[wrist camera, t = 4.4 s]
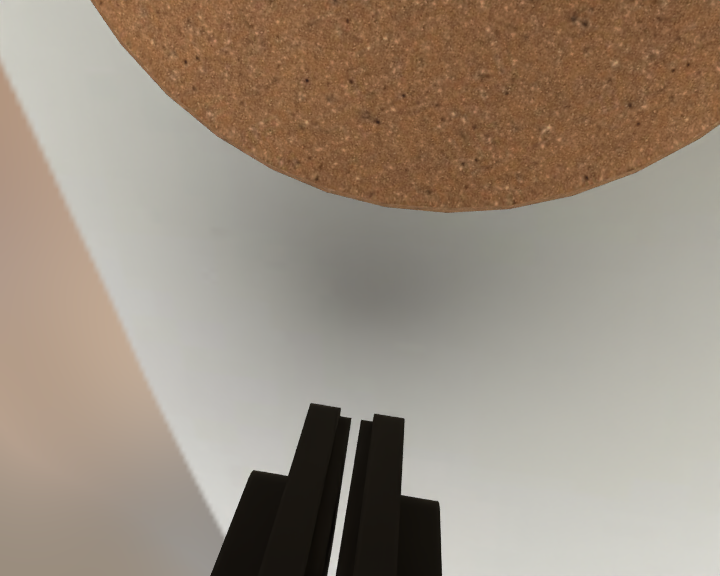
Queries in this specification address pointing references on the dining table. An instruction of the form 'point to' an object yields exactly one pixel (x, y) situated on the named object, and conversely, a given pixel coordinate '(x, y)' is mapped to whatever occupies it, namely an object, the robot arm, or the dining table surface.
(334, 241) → the dining table surface
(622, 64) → the trinket box
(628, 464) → the dining table surface
